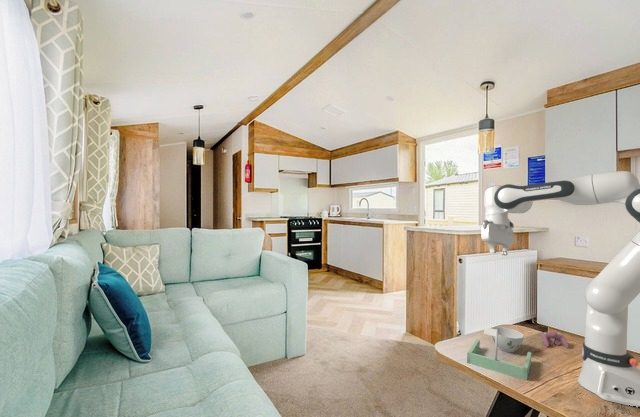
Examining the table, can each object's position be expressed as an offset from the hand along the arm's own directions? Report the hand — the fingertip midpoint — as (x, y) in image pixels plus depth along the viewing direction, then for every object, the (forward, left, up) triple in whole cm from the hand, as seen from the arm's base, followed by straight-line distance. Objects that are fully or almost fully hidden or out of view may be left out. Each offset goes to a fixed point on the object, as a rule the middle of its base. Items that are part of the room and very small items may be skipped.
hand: (498, 254), depth 137 cm
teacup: (-2, -8, -43) cm, 44 cm away
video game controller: (-19, -27, -43) cm, 54 cm away
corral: (-2, +8, -43) cm, 44 cm away
